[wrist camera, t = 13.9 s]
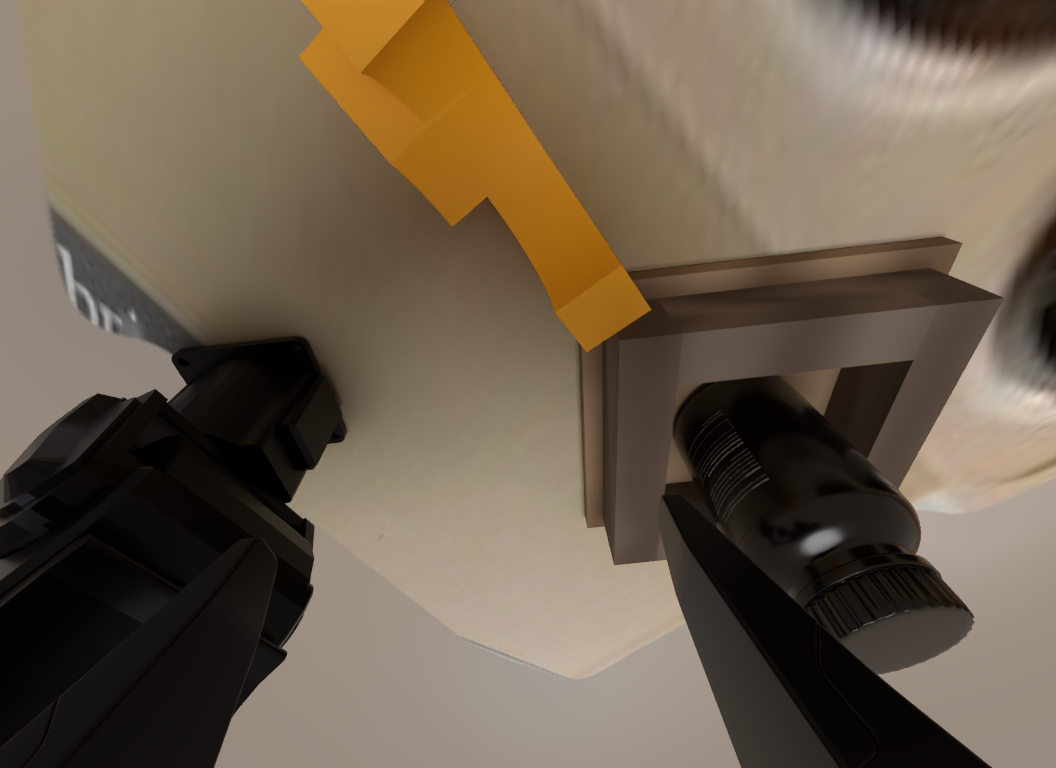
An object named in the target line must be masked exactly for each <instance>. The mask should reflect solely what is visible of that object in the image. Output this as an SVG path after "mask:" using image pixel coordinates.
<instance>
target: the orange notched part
mask: <svg viewBox="0 0 1056 768" xmlns="http://www.w3.org/2000/svg"><path fill="white" fill-rule="evenodd" d="M301 1H302V2H303V3H304V4H305V6H306V7H307V8H308V9H309V11H310V12H311V13H312V14H313V15H314V17H315V18H316V19H317V20H318V22H319V23H320V24H321V25H322V27H323V29H322V30H321V31H320V32H319V33H318V35H317V36H316V37H315V38H314V39H313V41H312V42H311V43H310V44H309V46H308V47H307V48H306V49H305V50H304V52H303V53H302V54H301V55H300V56H299V59H300V60H301V61H302V62H303V64H304V65H305V66H306V67H307V68H308V69H309V70H310V72H311V73H312V74H313V75H314V76H315V77H316V79H317V80H318V81H319V82H320V83H321V84H322V85H323V87H324V88H325V89H326V90H327V91H328V92H329V94H330V95H331V96H332V97H333V98H334V99H335V101H336V102H337V103H338V104H339V105H340V106H341V107H342V109H343V110H344V111H345V112H346V113H347V114H348V116H349V117H350V118H351V119H352V120H353V121H354V122H355V124H356V125H357V126H358V127H359V128H360V129H361V131H362V132H363V133H364V134H365V135H366V136H367V138H368V139H369V140H370V141H371V142H372V143H373V144H374V146H375V147H376V148H377V149H378V150H379V151H380V153H381V154H382V155H383V156H384V157H385V158H386V159H387V161H388V162H389V163H390V164H391V165H393V166H394V167H395V168H396V169H397V170H398V171H399V172H400V173H402V174H403V175H404V176H405V177H406V178H407V179H408V180H409V181H410V182H411V183H412V184H413V185H414V186H415V187H416V188H417V189H418V190H419V191H420V192H421V193H422V194H423V195H424V196H425V197H426V198H427V199H428V200H429V201H430V202H431V203H432V204H433V206H434V207H435V208H436V209H437V210H438V211H439V212H440V213H441V215H442V216H443V217H444V218H445V219H446V220H447V222H448V223H449V224H450V225H451V226H452V227H453V226H454V225H455V224H456V223H457V222H459V221H460V220H461V219H462V218H463V217H464V216H465V215H467V214H468V213H469V212H470V211H471V210H472V209H473V208H475V207H476V206H477V205H478V204H479V203H480V202H482V201H483V200H484V199H485V198H486V197H488V199H489V200H490V201H491V203H492V204H493V205H494V207H495V208H496V210H497V211H498V212H499V214H500V215H501V216H502V218H503V219H504V221H505V222H506V224H507V225H508V227H509V228H510V229H511V231H512V232H513V234H514V235H515V237H516V238H517V240H518V242H519V243H520V245H521V246H522V248H523V249H524V251H525V253H526V254H527V256H528V257H529V259H530V261H531V263H532V264H533V266H534V268H535V269H536V271H537V273H538V275H539V277H540V279H541V281H542V283H543V284H544V287H545V289H546V291H547V293H548V295H549V298H550V300H551V303H552V305H553V309H554V312H555V314H556V315H557V316H558V317H559V319H560V320H561V321H562V322H563V324H564V325H565V326H566V327H567V329H568V330H569V331H570V332H571V334H572V335H573V336H574V337H575V338H576V340H577V341H578V342H579V343H580V345H581V346H582V347H583V348H584V350H585V351H586V352H588V351H590V350H591V349H593V348H594V347H596V346H597V345H599V344H600V343H602V342H603V341H605V340H606V339H608V338H609V337H611V336H612V335H614V334H615V333H617V332H618V331H620V330H621V329H623V328H624V327H626V326H627V325H629V324H630V323H632V322H633V321H635V320H636V319H638V318H639V317H641V316H642V315H644V314H646V313H647V312H649V311H650V310H651V308H650V307H649V305H648V304H647V302H646V301H645V299H644V298H643V296H642V295H641V293H640V292H639V290H638V289H637V287H636V286H635V284H634V283H633V281H632V279H631V278H630V276H629V275H628V273H627V272H626V270H625V269H624V267H623V266H622V264H621V263H620V261H619V260H618V259H617V257H616V256H615V254H614V253H613V251H612V250H611V248H610V247H609V245H608V244H607V242H606V241H605V239H604V238H603V236H602V235H601V234H600V232H599V231H598V229H597V228H596V226H595V225H594V223H593V222H592V220H591V219H590V217H589V216H588V214H587V213H586V211H585V210H584V208H583V207H582V205H581V204H580V202H579V201H578V199H577V198H576V196H575V195H574V193H573V192H572V190H571V189H570V187H569V186H568V184H567V183H566V181H565V180H564V178H563V177H562V175H561V174H560V172H559V171H558V169H557V168H556V166H555V165H554V163H553V162H552V160H551V159H550V157H549V156H548V154H547V153H546V151H545V150H544V148H543V147H542V145H541V144H540V142H539V141H538V139H537V138H536V136H535V135H534V133H533V132H532V130H531V129H530V127H529V126H528V124H527V123H526V121H525V120H524V118H523V117H522V115H521V114H520V112H519V111H518V109H517V108H516V106H515V105H514V103H513V102H512V100H511V98H510V97H509V95H508V94H507V92H506V91H505V89H504V88H503V86H502V85H501V83H500V82H499V80H498V79H497V77H496V76H495V74H494V73H493V71H492V70H491V68H490V67H489V65H488V64H487V62H486V61H485V59H484V58H483V56H482V54H481V53H480V51H479V50H478V48H477V47H476V45H475V44H474V42H473V41H472V39H471V38H470V36H469V35H468V33H467V32H466V30H465V29H464V27H463V26H462V24H461V22H460V21H459V19H458V18H457V16H456V15H455V13H454V12H453V10H452V9H451V7H450V6H449V4H448V2H447V1H446V0H301Z"/></svg>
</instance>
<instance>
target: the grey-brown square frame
mask: <svg viewBox="0 0 1056 768" xmlns="http://www.w3.org/2000/svg"><path fill="white" fill-rule="evenodd" d="M962 244H963V243H960V242H957V241H954V240H951V239H948V238H945V237H939V238H930V239H921V240H912V241H903V242H895V243H886V244H877V245H868V246H859V247H850V248H841V249H832V250H823V251H815V252H806V253H797V254H788V255H779V256H770V257H761V258H752V259H744V260H735V261H726V262H717V263H708V264H699V265H690V266H681V267H672V268H664V269H655V270H646V271H637V272H628V275H629V276H630V278H631V279H632V281H633V283H634V284H635V286H636V287H637V289H638V290H639V292H640V293H641V295H642V296H643V298H644V299H645V301H646V302H647V304H648V305H649V307H650V308H651V310H650V311H649V312H647V313H646V314H644V315H642V316H641V317H639V318H638V319H636V320H635V321H633V322H632V323H630V324H629V325H627V326H626V327H624V328H623V329H621V330H620V331H618V332H617V333H615V334H614V335H612V336H611V337H609V338H608V339H606V340H605V341H603V342H602V343H600V344H599V345H597V346H596V347H594V348H593V349H591V350H590V351H588V352H586V351H585V350H584V348H583V347H582V346H581V345H580V343H579V352H580V380H581V408H582V437H583V465H584V493H585V517H586V522H587V527H588V528H593V527H603V526H605V529H606V533H607V537H608V541H609V546H610V550H611V554H612V558H613V562H614V565H620V564H630V563H640V562H649V561H659V560H667V558H666V554H665V550H664V546H663V543H662V539H661V535H660V531H659V527H658V511H659V502H660V497H661V496H662V495H663V494H672V493H679V494H681V495H682V496H683V497H685V498H686V499H687V500H688V501H689V502H690V503H691V504H692V505H693V506H694V507H695V508H696V509H697V510H699V511H700V512H701V513H702V514H703V515H704V516H705V517H706V518H707V519H708V520H709V521H710V522H711V523H712V524H714V525H715V526H716V524H715V522H714V520H713V518H712V516H711V514H710V512H709V510H708V508H707V506H706V504H705V503H704V501H703V499H702V497H701V495H700V493H699V491H698V489H697V487H696V485H695V483H694V481H693V479H692V477H691V475H690V473H689V471H688V470H687V468H686V466H685V464H684V461H683V459H682V458H681V455H680V453H679V451H678V449H677V446H676V442H675V428H676V424H677V421H678V418H679V416H680V414H681V412H682V410H683V409H684V407H685V406H686V404H687V403H688V402H689V401H690V400H691V399H692V398H693V397H694V396H695V395H696V394H697V393H698V392H699V391H701V390H702V389H703V388H705V387H706V386H708V385H710V384H711V383H713V382H717V381H726V380H735V379H744V378H753V377H763V376H772V375H774V376H777V377H779V378H781V379H783V380H785V381H786V382H787V383H789V384H790V385H791V386H792V387H794V388H795V389H796V390H797V391H798V392H799V393H800V394H801V395H802V396H803V397H804V398H805V399H806V400H807V401H808V402H809V403H810V404H811V405H812V406H813V407H814V408H815V409H816V410H817V411H818V412H819V413H821V414H822V415H823V416H824V417H825V418H826V419H827V420H828V421H829V422H830V423H831V424H832V425H833V426H834V427H835V428H836V429H837V430H838V431H839V432H840V433H841V434H842V435H843V436H844V437H845V438H846V439H847V440H848V441H849V442H850V443H851V444H852V445H853V446H854V447H855V448H856V449H857V450H858V451H859V452H860V453H861V454H862V455H863V456H864V457H865V458H866V459H867V460H868V461H869V462H870V463H871V464H872V465H874V466H875V467H876V468H877V469H878V470H879V471H880V472H881V473H882V474H883V475H884V476H885V477H886V478H887V479H888V480H889V481H890V482H891V483H892V484H893V485H894V486H895V487H896V488H897V489H898V488H899V487H900V485H901V483H902V481H903V479H904V478H905V476H906V474H907V472H908V470H909V469H910V467H911V465H912V463H913V461H914V460H915V458H916V456H917V454H918V452H919V451H920V449H921V447H922V445H923V443H924V442H925V440H926V438H927V436H928V434H929V433H930V431H931V429H932V427H933V425H934V424H935V422H936V420H937V418H938V416H939V415H940V413H941V411H942V409H943V407H944V406H945V404H946V402H947V400H948V398H949V397H950V395H951V393H952V391H953V389H954V388H955V386H956V384H957V382H958V380H959V379H960V377H961V375H962V373H963V371H964V370H965V368H966V366H967V364H968V362H969V361H970V359H971V357H972V355H973V353H974V352H975V350H976V348H977V346H978V344H979V343H980V341H981V339H982V337H983V335H984V334H985V332H986V330H987V328H988V326H989V325H990V323H991V321H992V319H993V317H994V316H995V314H996V312H997V310H998V308H999V307H1000V305H1001V303H1002V301H1003V299H1004V298H1003V297H1001V296H998V295H996V294H993V293H991V292H988V291H986V290H983V289H981V288H979V287H976V286H974V285H971V284H969V283H966V282H964V281H961V280H959V279H957V278H954V277H952V276H949V275H948V274H949V272H950V270H951V267H952V265H953V263H954V261H955V259H956V257H957V254H958V252H959V250H960V248H961V246H962ZM716 527H717V526H716Z"/></svg>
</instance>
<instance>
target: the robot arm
mask: <svg viewBox="0 0 1056 768" xmlns="http://www.w3.org/2000/svg"><path fill="white" fill-rule="evenodd" d="M294 345H297V346H299V347H300V348H301V350H297V349H296V348H295V347H294ZM183 358H185V359H187V360H188V362H187V361H185V360H184V359H183ZM172 362H173V364H174V365H175V367H176V369H177V370H178V371H179V373H180V375H181V376H182V378H183V379H184V380H185V382H186V384H187V385H186V386H185V387H184V388H183V389H182V390H181V391H180V392H179V393H178V394H176V395H175V397H173V398H172V399H171V400H170V401H169V402H168V403H167V400H168V399H167V398H165V397H164V396H163V395H162V394H161V393H159V392H158V391H157V390H156V389H154V390H152V391H150V392H148V393H146V394H144V395H141V396H139V397H137V398H131V399H129V400H127V399H125V398H122V399H120V398H116V397H111V396H107V395H102V394H96V395H94V396H92V397H90V398H88V399H86V400H84V401H83V402H82V403H80V404H79V405H78V406H76V407H75V408H73V409H72V410H71V411H70V412H68V413H67V414H65V415H64V416H63V417H62V418H60V419H59V420H58V421H56V422H55V423H53V424H52V425H51V426H50V427H48V428H47V429H46V430H45V431H44V432H42V433H41V434H40V435H39V436H38V437H37V438H36V439H35V440H34V441H33V442H32V443H31V444H30V445H29V447H28V448H27V449H26V450H25V451H24V452H23V453H22V454H21V455H20V457H19V458H18V459H17V460H16V461H15V462H14V463H13V464H12V465H11V467H10V468H9V469H8V470H7V471H6V472H5V473H4V475H3V478H2V479H1V480H0V768H214V766H215V763H216V761H217V758H218V755H219V752H220V749H221V746H222V743H223V741H224V738H225V735H226V732H227V729H228V726H229V723H230V721H231V718H232V716H233V715H234V713H235V712H236V711H237V710H238V708H239V707H240V706H241V705H242V703H243V702H244V701H245V700H246V699H247V698H248V697H249V695H250V694H251V693H252V692H253V691H254V689H255V688H256V687H257V686H258V685H259V684H260V683H261V682H262V681H263V680H264V679H265V678H266V677H267V676H268V675H269V674H270V673H271V672H272V671H273V670H274V669H276V667H278V666H279V665H280V664H281V663H282V662H283V661H284V660H285V658H286V656H287V651H286V650H284V649H282V647H283V646H284V644H285V643H286V642H287V641H288V639H289V638H290V637H291V635H292V634H293V632H294V631H295V630H296V628H297V626H298V624H299V622H300V621H301V619H302V617H303V614H304V612H305V610H306V608H307V606H308V604H309V601H310V599H311V597H312V594H313V586H312V585H311V584H310V577H311V572H312V567H313V562H314V556H313V537H314V525H313V524H312V523H311V522H310V521H308V520H307V519H306V518H305V519H302V518H301V517H300V516H299V515H298V514H296V513H295V512H294V511H293V510H292V509H291V508H289V507H288V506H287V505H286V504H285V503H289V502H290V501H291V500H292V498H293V496H294V494H295V492H296V490H297V489H298V487H299V485H300V483H301V481H302V479H303V477H304V475H305V473H306V471H307V470H313V469H314V468H315V467H316V465H317V464H318V462H319V460H320V458H321V456H322V454H323V452H324V450H325V448H326V446H327V444H330V443H339V442H342V441H343V440H344V438H345V436H346V434H347V431H346V428H345V426H344V424H343V421H342V419H341V415H342V413H341V411H340V408H339V406H338V404H337V401H336V399H335V397H334V394H333V392H332V390H331V387H330V385H329V383H328V381H327V378H326V377H325V376H324V375H323V374H322V373H321V371H320V369H319V366H318V364H317V362H316V359H315V357H314V355H313V353H312V350H311V348H310V346H309V344H308V342H307V341H306V340H305V339H303V338H301V337H286V338H277V339H268V340H259V341H250V342H241V343H232V344H223V345H214V346H205V347H196V348H188V349H181V350H179V351H177V352H176V353H175V354H174V355H173V356H172ZM334 432H336V433H338V434H339V435H337V434H335V433H334ZM658 527H659V531H660V535H661V539H662V543H663V546H664V550H665V554H666V558H667V562H668V566H669V570H670V574H671V577H672V581H673V585H674V589H675V592H676V596H677V599H678V601H679V604H680V607H681V610H682V612H683V615H684V618H685V620H686V623H687V625H688V628H689V631H690V633H691V636H692V638H693V641H694V644H695V647H696V649H697V652H698V655H699V657H700V660H701V662H702V665H703V668H704V670H705V673H706V676H707V678H708V681H709V683H710V686H711V689H712V692H713V694H714V697H715V699H716V702H717V705H718V707H719V710H720V713H721V715H722V718H723V721H724V723H725V726H726V728H727V731H728V734H729V736H730V739H731V742H732V744H733V747H734V749H735V752H736V755H737V757H738V760H739V763H740V765H741V768H992V767H991V766H989V765H988V764H987V763H985V762H984V761H983V760H982V759H980V758H979V757H978V756H977V755H976V754H974V753H973V752H972V751H971V750H969V749H968V748H967V747H966V746H964V745H963V744H962V743H961V742H959V741H958V740H957V739H956V738H954V737H953V736H952V735H951V734H949V733H948V732H947V731H946V730H944V729H943V728H942V727H941V726H939V725H938V724H937V723H936V722H934V721H933V720H932V719H931V718H929V717H928V716H927V715H926V714H925V713H923V712H922V711H921V710H920V709H918V708H917V707H916V706H915V705H913V704H912V703H911V702H910V701H908V700H907V699H906V698H905V697H903V696H902V695H901V694H900V693H899V692H897V691H896V690H895V689H894V688H892V687H891V686H890V685H889V684H888V683H887V682H885V681H884V680H883V679H882V678H880V677H879V676H878V675H877V674H876V673H874V672H873V671H872V670H871V669H870V668H868V667H867V666H866V665H865V664H864V663H863V662H862V661H861V660H860V659H858V658H857V657H856V656H855V655H854V654H853V653H852V652H851V651H849V650H848V649H847V648H846V647H845V646H844V645H843V644H842V643H841V642H839V641H838V640H837V639H836V638H835V637H834V636H833V635H832V634H831V633H830V632H829V631H828V630H827V629H825V628H824V627H823V626H822V625H820V624H819V625H818V622H817V620H816V619H815V618H813V617H812V616H811V615H810V614H809V613H808V612H807V611H806V610H805V609H804V608H803V607H802V606H801V605H800V604H798V603H797V602H796V601H795V600H794V599H793V598H792V597H791V596H790V595H789V594H788V593H787V592H786V591H784V590H783V589H782V588H781V587H780V586H779V585H778V584H777V583H776V582H775V581H774V580H773V579H772V578H770V577H769V576H768V575H767V574H766V573H765V572H764V571H763V570H762V569H761V568H760V567H759V566H758V565H757V564H755V563H754V562H753V561H752V560H751V559H750V558H749V557H748V556H747V555H746V554H745V553H744V552H743V551H741V550H740V549H739V548H738V547H737V546H736V545H735V544H734V543H733V542H732V541H731V540H730V539H729V538H728V537H726V536H725V535H724V534H723V533H722V532H721V531H720V530H719V529H718V528H717V527H716V526H715V525H714V524H712V523H711V522H710V521H709V520H708V519H707V518H706V517H705V516H704V515H703V514H702V513H701V512H700V511H699V510H697V509H696V508H695V507H694V506H693V505H692V504H691V503H690V502H689V501H688V500H687V499H686V498H685V497H683V496H682V495H681V494H679V493H672V494H663V495H662V496H661V497H660V502H659V511H658Z"/></svg>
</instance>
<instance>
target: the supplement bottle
mask: <svg viewBox="0 0 1056 768" xmlns="http://www.w3.org/2000/svg"><path fill="white" fill-rule="evenodd" d="M675 442H676V446H677V449H678V451H679V453H680V455H681V458H682V459H683V461H684V464H685V466H686V468H687V470H688V471H689V473H690V475H691V477H692V479H693V481H694V483H695V485H696V487H697V489H698V491H699V493H700V495H701V497H702V499H703V501H704V503H705V504H706V506H707V508H708V510H709V512H710V514H711V516H712V518H713V520H714V522H715V524H716V526H717V528H718V529H719V530H720V531H721V532H722V533H723V534H724V535H725V536H726V537H728V538H729V539H730V540H731V541H732V542H733V543H734V544H735V545H736V546H737V547H738V548H739V549H740V550H741V551H743V552H744V553H745V554H746V555H747V556H748V557H749V558H750V559H751V560H752V561H753V562H754V563H755V564H757V565H758V566H759V567H760V568H761V569H762V570H763V571H764V572H765V573H766V574H767V575H768V576H769V577H770V578H772V579H773V580H774V581H775V582H776V583H777V584H778V585H779V586H780V587H781V588H782V589H783V590H784V591H786V592H787V593H788V594H789V595H790V596H791V597H792V598H793V599H794V600H795V601H796V602H797V603H798V604H800V605H801V606H802V607H803V608H804V609H805V610H806V611H807V612H808V613H809V614H810V615H811V616H812V617H813V618H815V619H816V620H817V622H818V625H819V624H820V625H822V626H823V627H824V628H825V629H827V630H828V631H829V632H830V633H831V634H832V635H833V636H834V637H835V638H836V639H837V640H838V641H839V642H841V643H842V644H843V645H844V646H845V647H846V648H847V649H848V650H849V651H851V652H852V653H853V654H854V655H855V656H856V657H857V658H858V659H860V660H861V661H862V662H863V663H864V664H865V665H866V666H867V667H868V668H870V669H871V670H872V671H873V672H874V673H876V674H885V673H889V672H893V671H898V670H901V669H904V668H908V667H911V666H914V665H916V664H918V663H922V662H925V661H927V660H929V659H930V658H933V657H936V656H938V655H939V654H940V653H943V652H945V651H947V650H949V649H950V648H951V647H952V646H954V645H956V644H958V643H959V642H960V640H962V639H963V638H964V637H966V636H967V633H968V632H969V631H970V630H972V625H973V624H974V621H973V618H974V616H973V614H972V613H971V611H970V610H969V609H968V607H967V606H966V605H965V604H964V603H963V601H962V600H961V599H960V598H959V597H958V596H957V595H956V594H955V593H954V592H953V591H952V590H951V588H950V587H949V586H948V585H947V584H946V583H945V582H944V581H943V580H942V577H941V575H940V573H939V572H938V571H937V570H936V569H935V568H934V567H933V566H932V565H931V564H930V562H928V561H927V560H926V559H925V558H923V557H921V556H918V555H916V553H917V551H918V548H919V545H920V540H921V527H920V522H919V519H918V515H917V513H916V511H915V509H914V507H913V506H912V504H911V503H910V502H909V501H908V500H907V499H906V498H905V497H904V496H903V495H902V493H901V492H900V491H899V490H898V489H897V488H896V487H895V486H894V485H893V484H892V483H891V482H890V481H889V480H888V479H887V478H886V477H885V476H884V475H883V474H882V473H881V472H880V471H879V470H878V469H877V468H876V467H875V466H874V465H872V464H871V463H870V462H869V461H868V460H867V459H866V458H865V457H864V456H863V455H862V454H861V453H860V452H859V451H858V450H857V449H856V448H855V447H854V446H853V445H852V444H851V443H850V442H849V441H848V440H847V439H846V438H845V437H844V436H843V435H842V434H841V433H840V432H839V431H838V430H837V429H836V428H835V427H834V426H833V425H832V424H831V423H830V422H829V421H828V420H827V419H826V418H825V417H824V416H823V415H822V414H821V413H819V412H818V411H817V410H816V409H815V408H814V407H813V406H812V405H811V404H810V403H809V402H808V401H807V400H806V399H805V398H804V397H803V396H802V395H801V394H800V393H799V392H798V391H797V390H796V389H795V388H794V387H792V386H791V385H790V384H789V383H787V382H786V381H785V380H783V379H781V378H779V377H777V376H774V375H772V376H763V377H753V378H744V379H735V380H726V381H717V382H713V383H711V384H710V385H708V386H706V387H705V388H703V389H702V390H701V391H699V392H698V393H697V394H696V395H695V396H694V397H693V398H692V399H691V400H690V401H689V402H688V403H687V404H686V406H685V407H684V409H683V410H682V412H681V414H680V416H679V418H678V421H677V424H676V428H675Z"/></svg>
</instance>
